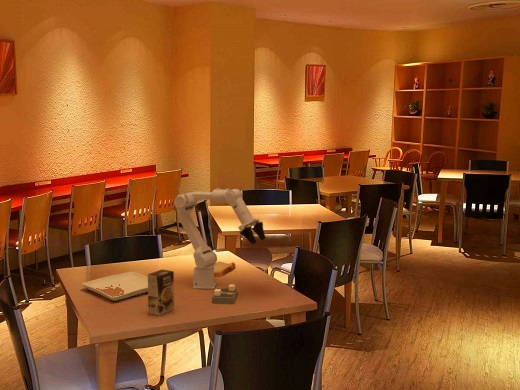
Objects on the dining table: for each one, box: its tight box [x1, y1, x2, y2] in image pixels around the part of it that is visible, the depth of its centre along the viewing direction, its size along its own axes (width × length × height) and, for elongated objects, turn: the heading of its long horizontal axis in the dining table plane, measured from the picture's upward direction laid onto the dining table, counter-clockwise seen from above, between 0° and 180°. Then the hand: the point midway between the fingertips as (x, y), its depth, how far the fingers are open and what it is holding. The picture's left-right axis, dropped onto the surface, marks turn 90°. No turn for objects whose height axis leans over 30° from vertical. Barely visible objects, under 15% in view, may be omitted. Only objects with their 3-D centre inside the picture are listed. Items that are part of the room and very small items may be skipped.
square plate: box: [81, 271, 148, 301], centre depth 266 cm, size 27×27×4 cm
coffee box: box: [147, 269, 175, 317], centre depth 238 cm, size 9×6×16 cm
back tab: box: [228, 283, 236, 291], centre depth 257 cm, size 2×3×2 cm
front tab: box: [213, 288, 221, 296], centre depth 251 cm, size 2×3×2 cm
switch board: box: [211, 287, 238, 305], centre depth 254 cm, size 9×13×3 cm
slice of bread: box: [214, 261, 236, 278], centre depth 296 cm, size 18×18×4 cm
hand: (259, 241), depth 254 cm, fingers open, 7 cm apart
